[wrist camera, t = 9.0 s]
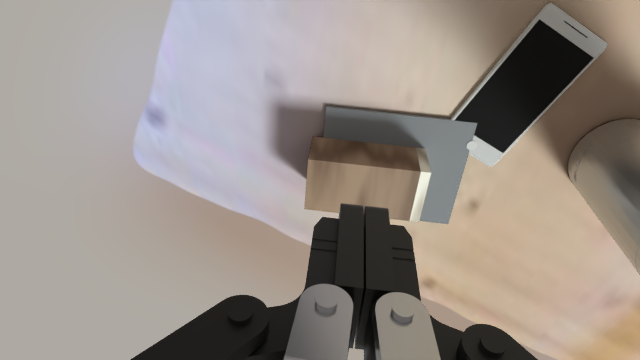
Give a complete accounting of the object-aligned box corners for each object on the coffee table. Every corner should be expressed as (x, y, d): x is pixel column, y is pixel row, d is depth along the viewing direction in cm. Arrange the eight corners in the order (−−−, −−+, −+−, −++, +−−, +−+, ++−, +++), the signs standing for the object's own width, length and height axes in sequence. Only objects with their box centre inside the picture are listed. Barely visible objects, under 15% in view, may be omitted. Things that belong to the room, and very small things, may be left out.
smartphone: (437, 132, 47) (438, 136, 47) (547, -1, 40) (550, 1, 39) (489, 164, 49) (491, 168, 48) (605, 42, 41) (610, 45, 41)
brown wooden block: (312, 136, 48) (425, 148, 48) (309, 183, 51) (414, 195, 51) (308, 159, 44) (431, 172, 43) (304, 209, 47) (419, 221, 47)
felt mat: (476, 121, 46) (477, 123, 46) (447, 221, 53) (448, 224, 53) (326, 105, 46) (325, 107, 46) (316, 207, 53) (316, 209, 53)
